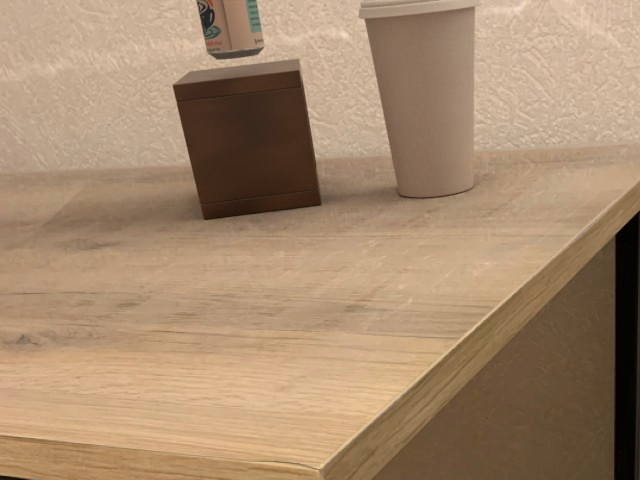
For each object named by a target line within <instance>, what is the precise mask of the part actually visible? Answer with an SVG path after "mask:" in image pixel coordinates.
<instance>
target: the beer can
mask: <svg viewBox="0 0 640 480" xmlns="http://www.w3.org/2000/svg"><path fill="white" fill-rule="evenodd" d="M195 2H196V6H197V10H198V15H199V19H200V25H201V29H202V34H203V39H204V43H205V44H204V45H205V49H206V53H207V54H208V55H209V56H210V57H213V58H214V59H215V60H217V61H220V60H234V59H241V58H248V57H254V56H258V55H260V53H261V52H262V51H263V50H264V49H265V41H264V34H263V28H262V23H261V19H260V12H259V6H258V1H257V0H195Z"/></svg>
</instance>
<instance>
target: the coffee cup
mask: <svg viewBox="0 0 640 480" xmlns="http://www.w3.org/2000/svg"><path fill="white" fill-rule="evenodd" d="M480 5H481V0H362V1H361V2H360V7H359V8H358V9H359V10H358V19H359V20H364V23H365V28H366V33H367V39H368V43H369V49H370V53H371V57H372V64H373V68H374V72H375V77H376V83H377V88H378V92H379V99H380V104H381V108H382V109H381V110H382V114H383V120H384V123H385V128H386V135H387V139H388V145H389V149H390V155H391V159H392V166H393V170H394V176H395V180H396V187H397V190H398V194H399V195H400V196H402V197H406V198H418V199H419V198H421V199H422V198H438V197H445V196H452V195H455V194H460V193H463V192H467V191H468V190H470V189H472V188H473V187H474V185H475V184H474V183H475V181H474V175H475V171H474V169H475V167H474V165H475V162H474V161H475V148H474V147H475V146H474V145H475V37H476V36H475V32H476V31H475V30H476V29H475V28H476V27H475V26H476V24H475V22H476V7H479V6H480Z"/></svg>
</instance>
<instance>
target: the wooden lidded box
mask: <svg viewBox="0 0 640 480" xmlns="http://www.w3.org/2000/svg"><path fill="white" fill-rule="evenodd" d="M302 73H303V71H302V67H301V60H300V58H292V59H284V60H275V61H268V62H267V61H266V62H258V63H251V64H241V65H233V66H225V67H216V68H208V69H199V70H191V71H190V70H189V71H188V72H187V73H186V74H184V75H183V76H182V77H180V78H179V79H178V80H177V81H175V82H174V83H173V84H172V89H173V94H174V99H175V101H176V106H177V112H178V115H179V120H180V125H181V129H182V132H183V136H184V137H183V138H184V141H185V146H186V149H187V154H188V158H189V162H190V167H191V171H192V175H193V179H194V183H195V188H196V192H197V197H198V202H199V204H200V209H201V213H202V218H203V220H211V219H212V220H213V219H219V218H226V217H228V218H229V217H235V216H242V215H244V216H245V215H250V214H259V213H266V212H274V211H281V210H282V211H283V210H289V209H290V210H291V209H298V208H305V207H306V208H307V207H314V206H320V205H322V197H321V187H320V180H319V179H320V178H319V172H318V165H317V159H316V155H315V154H316V153H315V148H314V141H313V135H312V134H313V133H312V129H311V122H310V115H309V110H308V104H307V103H308V102H307V98H306V91H305V84H304V79H303V74H302Z"/></svg>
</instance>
